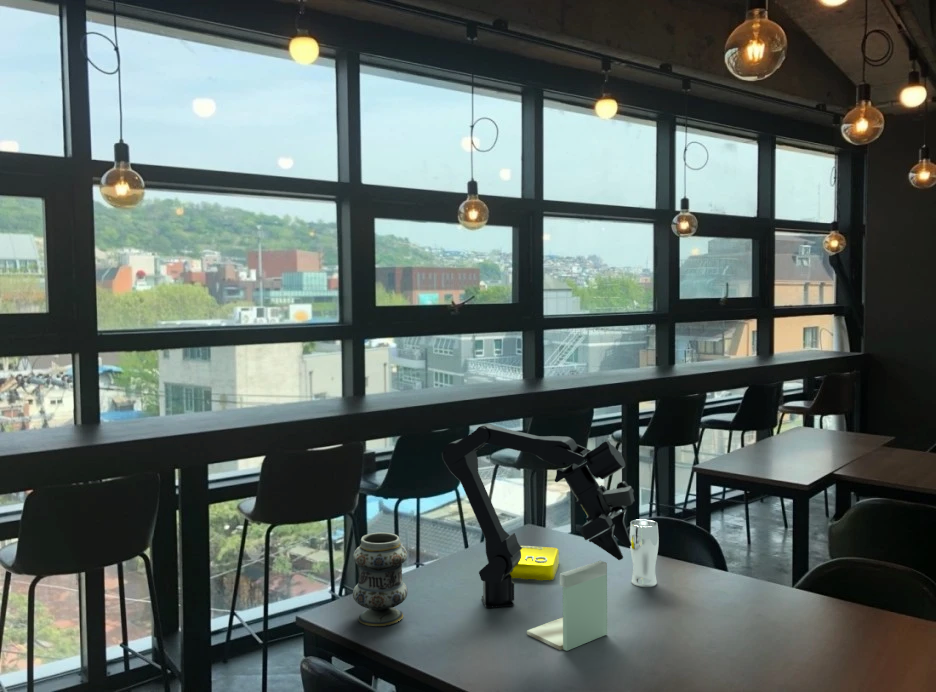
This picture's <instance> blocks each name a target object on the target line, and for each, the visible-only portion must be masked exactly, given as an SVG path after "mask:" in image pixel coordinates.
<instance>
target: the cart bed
mask: <svg viewBox="0 0 936 692" xmlns="http://www.w3.org/2000/svg"><path fill="white" fill-rule="evenodd" d="M526 634H527V636H530V637H532V638H533V639H536V640H538V641H540V642H542V643H545V644H546V645H548V646H550V647H551V648H555V649H557V650H559V651H561V650H564V649H563V616H562V617H560V618H558V619H555V620H551V621H549V622H546V623H544V624H541V625H538V626H536V627H533V628H530V629H528V630H526Z"/></svg>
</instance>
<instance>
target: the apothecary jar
mask: <svg viewBox="0 0 936 692" xmlns="http://www.w3.org/2000/svg"><path fill="white" fill-rule="evenodd" d="M352 557H353V561H354V563H355V564H356V565H357V566H358V583H357V584H356V585H355V586H354V588H353V591H352V597H353V600H354V601H355V603H356V604H358V605H359V606H360V607H362V608H365V609H366V610H364V611H362V612H361V613H360V614H359V615H358V621H359V622H360V624H362V625H364V626H369V627H377V626H378V627H387V626H386V625H388V626H392V625H395V624H398V623H399V622H400V620H401V619H402V620H403V618H404V614H403V612H402V610H399V609H397V608H396V607H398V606H399V605H401V604H402V603H403V602H405V600H406V599H407V597H408V592H409V591H408V587H407V585H406V583H404V581H403V563H405V562H406V560H407V557H408V551H407V549H406V547H405V546H403V544H401V540H400V536H398V534H395V533H391V532H373V533H372V532H371V533H368V534H364V535H363V536H362V537H361V539H360V544H359V546H358V547H357V548H356V549H355V550H354V553H353V556H352ZM402 620H401V621H402ZM398 621H399V622H398ZM394 623H395V624H394ZM391 624H392V625H391Z"/></svg>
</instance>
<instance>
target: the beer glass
mask: <svg viewBox="0 0 936 692" xmlns="http://www.w3.org/2000/svg"><path fill="white" fill-rule="evenodd" d="M629 523H630V527H629V538H630V541H631V546H630V548H629V549H630V555H631V561H632V567H633V569H632V576H631V583H632V585H634V586H636V587H641V588H652V587H655V586H657V584H658V582H657V576H656V565H657V564H656V563H657V558H658V552H659V542H660V541H659V539H660V537H659V526H658V525H659V524H658V522H657V521H654V520H651V519H642V518H641V519H634V520H631V521H630V522H629Z"/></svg>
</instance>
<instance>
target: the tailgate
mask: <svg viewBox="0 0 936 692" xmlns="http://www.w3.org/2000/svg"><path fill="white" fill-rule="evenodd" d="M559 586H560V587H562V617H563V649H562V650H564V651H569V650H572V649H574V648H577V647H579V646H582V645H585V644H586V643H589V642H591V641H594V640H597V639H600V638H601V637H604V636H606V635H608V562H606V561H603V560H599V561H595V562H592V563H588V564H586V565H581V566H579V567H576V568H574V569H570V570H567V571H564V572H560V573H559Z"/></svg>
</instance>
